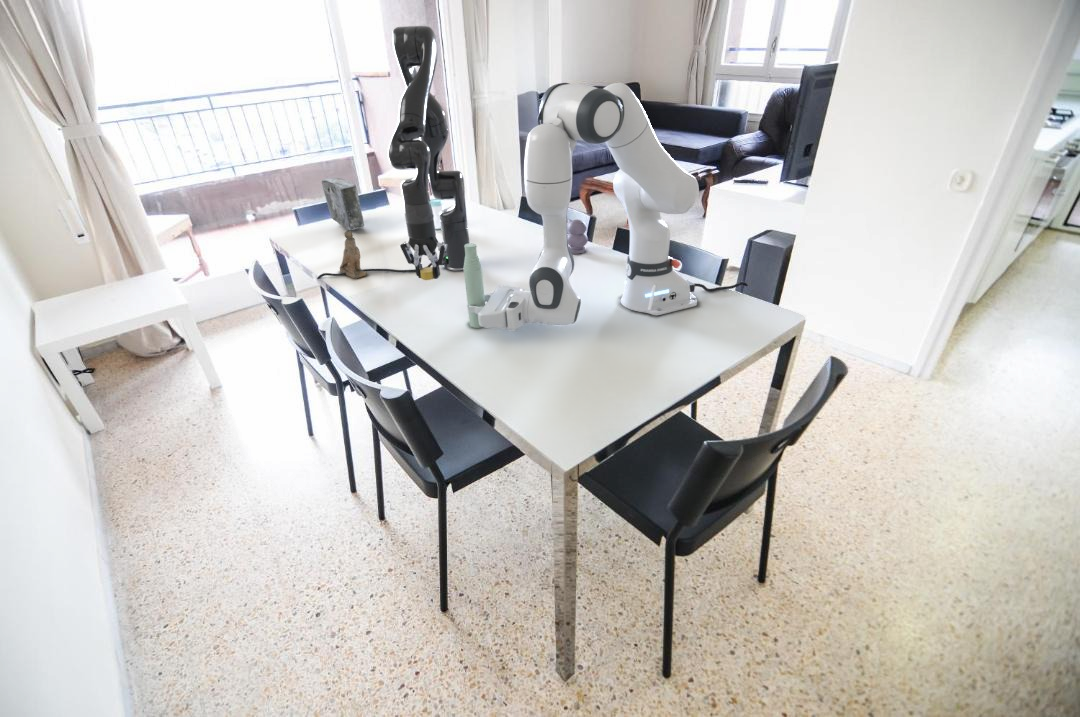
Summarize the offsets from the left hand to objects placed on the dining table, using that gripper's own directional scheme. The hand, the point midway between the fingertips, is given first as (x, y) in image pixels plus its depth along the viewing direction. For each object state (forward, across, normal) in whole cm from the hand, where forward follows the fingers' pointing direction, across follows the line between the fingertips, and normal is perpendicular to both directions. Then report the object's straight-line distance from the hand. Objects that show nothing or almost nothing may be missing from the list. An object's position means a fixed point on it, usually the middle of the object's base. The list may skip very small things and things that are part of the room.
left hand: (428, 277), depth 145 cm
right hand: (+4, +15, -7) cm, 17 cm away
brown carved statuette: (+10, -41, +24) cm, 49 cm away
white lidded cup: (+10, -31, +81) cm, 87 cm away
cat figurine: (+10, +35, +57) cm, 68 cm away
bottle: (+11, +16, -7) cm, 21 cm away
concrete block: (+10, -73, +76) cm, 106 cm away
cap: (-2, 0, 0) cm, 2 cm away
